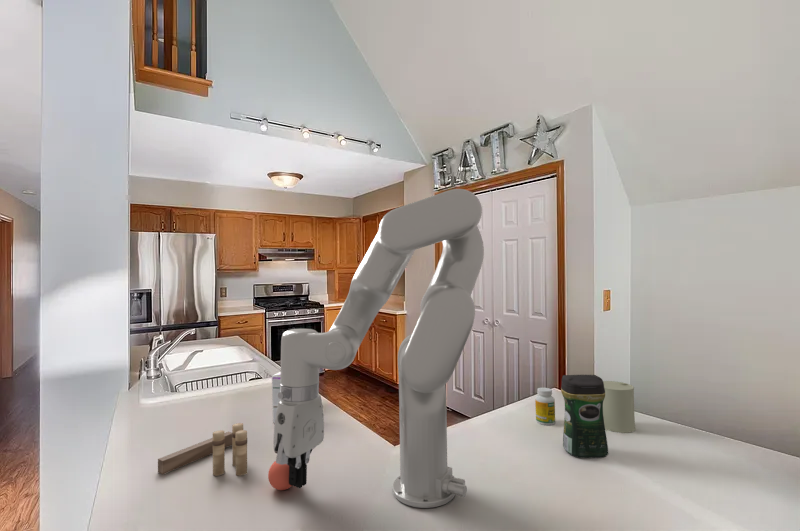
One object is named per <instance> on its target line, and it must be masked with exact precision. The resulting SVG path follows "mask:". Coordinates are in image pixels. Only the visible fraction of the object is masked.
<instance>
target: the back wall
mask: <svg viewBox="0 0 800 531" xmlns="http://www.w3.org/2000/svg"><path fill="white" fill-rule="evenodd" d="M224 438H225V449H227V448H228V447H230V446H231V447H232V431H225V432H224ZM212 440H213V437H211V438H209V439H205V440H203V441H201V442H198V443H196V444H193V445H190V446H187V447H184V448H183V449H180V450H178V451H175V452H172V453H170V454H167V455H165V456H162V457H160V458H157V473H158V474H160V475H165V474H168V473H170V472H172V471H174V470H177V469H179V468H182V467H184V466H186V465H188V464H189V465H190V464H191V463H194V462H196V461H198V460H200V459H203V458H205V457H207V456H209V455H213V445H212Z"/></svg>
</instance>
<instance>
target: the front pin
mask: <svg viewBox="0 0 800 531" xmlns="http://www.w3.org/2000/svg"><path fill="white" fill-rule="evenodd" d="M235 445H236V466H235V476H238V477H239V476H244V475H246V474H248V431H247V430H245V429H243V430H241V431H237V432H236V439H235Z"/></svg>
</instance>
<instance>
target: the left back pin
mask: <svg viewBox="0 0 800 531" xmlns="http://www.w3.org/2000/svg"><path fill="white" fill-rule="evenodd" d="M224 433H225V430H223V429H222V430H221V429H220V430H216V431H214V432H212V438H213V440H212V445H213V453H212V476H214V477H219V476H222V475H223V474H225V473H226V471H225V469H226V468H225V464H226V463H225V462H226V461H225V459H226V458H225V455H226V454H225V451H226V450H225V449H226V448H225V438H224Z"/></svg>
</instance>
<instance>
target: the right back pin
mask: <svg viewBox="0 0 800 531" xmlns="http://www.w3.org/2000/svg"><path fill="white" fill-rule="evenodd" d="M231 428H232V431H231V432H232V445H231V448H232V452H231V453H232V454H231V455H232V464H231V465H232V466H233V467H236V445H235V439H236V432H237V431H241V430H244V423H241V422H239V423H234V424H232V426H231Z"/></svg>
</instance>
